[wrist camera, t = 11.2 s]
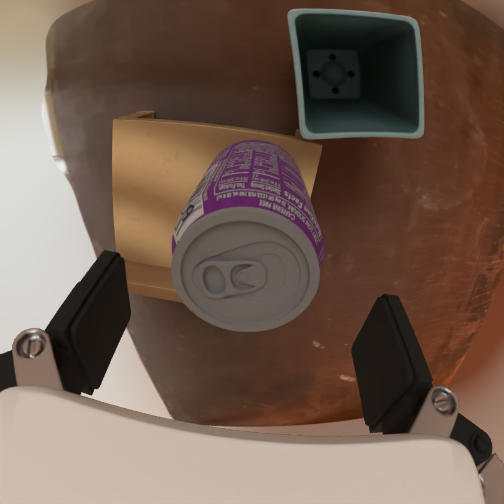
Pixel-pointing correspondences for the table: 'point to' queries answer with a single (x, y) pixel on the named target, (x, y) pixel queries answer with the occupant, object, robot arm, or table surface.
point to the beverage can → (248, 241)
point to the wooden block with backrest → (172, 186)
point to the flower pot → (357, 74)
